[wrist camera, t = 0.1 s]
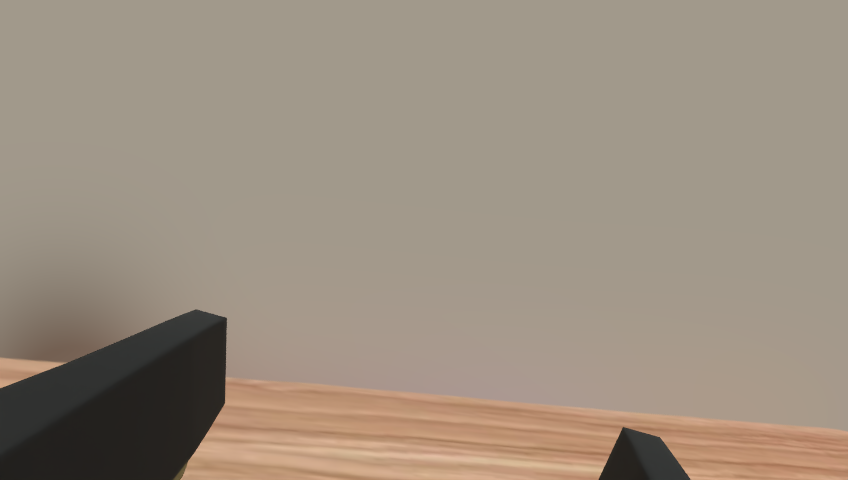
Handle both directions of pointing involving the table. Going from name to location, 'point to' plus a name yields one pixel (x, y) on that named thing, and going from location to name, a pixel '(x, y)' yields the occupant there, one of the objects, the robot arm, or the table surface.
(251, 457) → the table surface
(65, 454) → the robot arm
